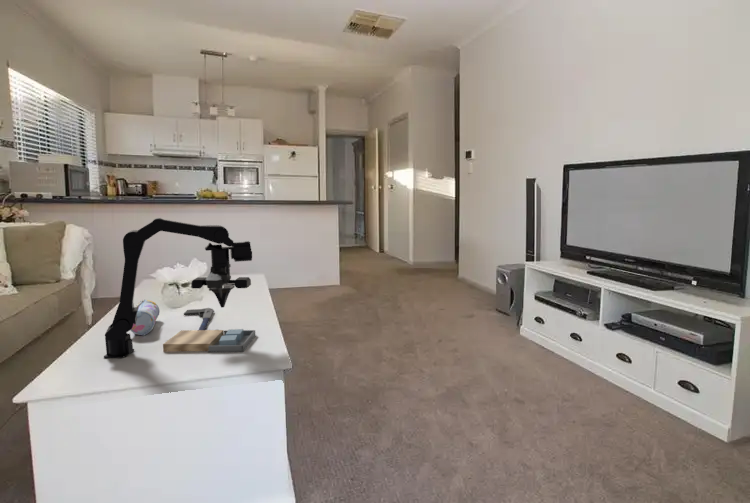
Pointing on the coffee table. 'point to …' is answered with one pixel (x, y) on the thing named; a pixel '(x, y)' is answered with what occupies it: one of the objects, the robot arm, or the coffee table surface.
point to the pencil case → (145, 317)
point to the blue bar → (202, 315)
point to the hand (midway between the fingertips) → (222, 307)
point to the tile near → (228, 340)
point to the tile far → (236, 333)
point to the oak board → (193, 340)
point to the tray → (235, 348)
